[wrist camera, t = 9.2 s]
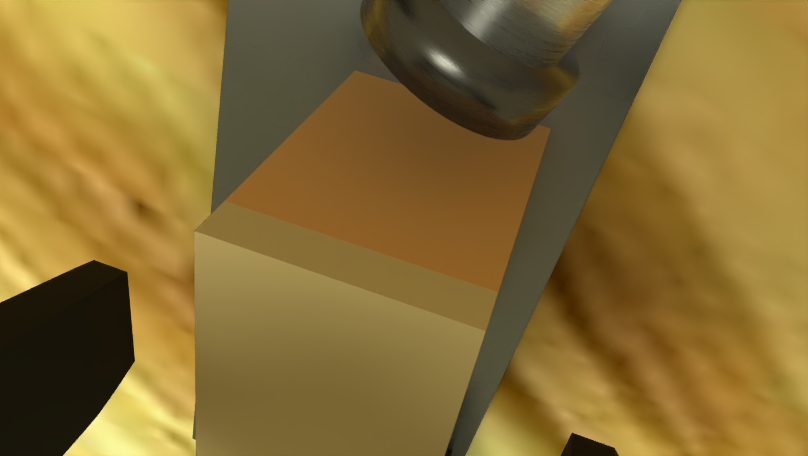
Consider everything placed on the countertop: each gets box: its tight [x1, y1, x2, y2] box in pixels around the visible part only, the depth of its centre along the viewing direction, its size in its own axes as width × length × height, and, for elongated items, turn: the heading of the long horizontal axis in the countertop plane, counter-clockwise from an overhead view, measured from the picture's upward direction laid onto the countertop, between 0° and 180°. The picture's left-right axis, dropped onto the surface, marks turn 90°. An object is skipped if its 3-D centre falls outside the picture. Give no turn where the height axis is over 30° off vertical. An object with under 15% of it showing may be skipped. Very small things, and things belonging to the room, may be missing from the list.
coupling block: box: [194, 71, 551, 456], centre depth 13 cm, size 4×5×6 cm
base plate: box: [193, 0, 681, 456], centre depth 16 cm, size 8×23×1 cm, turn 166°
